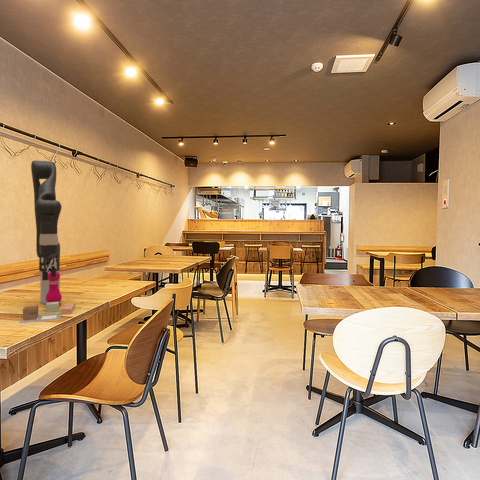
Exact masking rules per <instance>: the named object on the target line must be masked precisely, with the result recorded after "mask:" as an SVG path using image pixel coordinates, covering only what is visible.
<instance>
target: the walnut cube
mask: <svg viewBox="0 0 480 480" xmlns="http://www.w3.org/2000/svg"><path fill="white" fill-rule="evenodd" d="M38 315H39V305H29V306H24V307H23V308H22V318H23V321H26V320H37V318H38Z"/></svg>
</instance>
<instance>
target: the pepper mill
mask: <svg viewBox="0 0 480 480" xmlns="http://www.w3.org/2000/svg"><path fill="white" fill-rule="evenodd" d="M59 278H60V279H61V272H60V273H59V272H57V271H56V277H51V272H49V273H48V280H49V281H48V284H49V291H48V293H47V296H46V301H47V302H59V308H60V307H62V303H61V301H62V299H63V298H62V297H63V296H62V293H61V290H60V291H59V288H58V283H59Z"/></svg>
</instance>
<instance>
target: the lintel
mask: <svg viewBox="0 0 480 480" xmlns="http://www.w3.org/2000/svg"><path fill="white" fill-rule="evenodd" d="M75 309H76V302H67V303H65V304H64V305H63V306H62V308H61V313H62V314H61V315H72V313H73V312H74V311H75Z"/></svg>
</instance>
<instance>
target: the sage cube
mask: <svg viewBox="0 0 480 480" xmlns="http://www.w3.org/2000/svg"><path fill="white" fill-rule="evenodd" d="M59 311H60V307H59V302H47V304H45V313H46V314H48V313H57V312H59Z"/></svg>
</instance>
